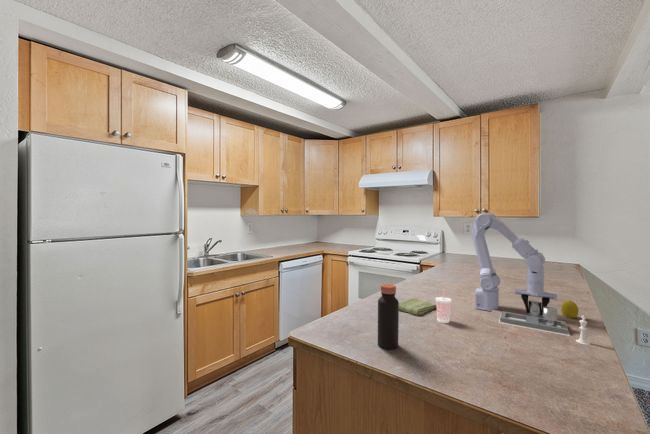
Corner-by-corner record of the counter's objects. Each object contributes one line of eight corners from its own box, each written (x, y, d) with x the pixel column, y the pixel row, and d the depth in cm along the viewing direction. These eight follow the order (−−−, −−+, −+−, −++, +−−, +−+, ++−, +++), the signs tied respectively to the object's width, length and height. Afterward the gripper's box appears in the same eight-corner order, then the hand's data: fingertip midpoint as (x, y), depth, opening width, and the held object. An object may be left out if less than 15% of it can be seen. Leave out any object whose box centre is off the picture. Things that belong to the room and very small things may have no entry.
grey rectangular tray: (498, 325, 118) (498, 318, 118) (500, 315, 129) (500, 309, 128) (570, 338, 105) (570, 331, 105) (566, 327, 116) (566, 320, 116)
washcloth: (438, 308, 139) (438, 301, 139) (418, 317, 127) (418, 310, 127) (413, 302, 148) (413, 295, 148) (392, 310, 136) (392, 303, 136)
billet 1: (528, 318, 125) (528, 302, 125) (528, 315, 129) (528, 299, 128) (541, 321, 122) (541, 304, 122) (540, 318, 126) (541, 301, 126)
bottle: (394, 351, 95) (394, 289, 95) (374, 346, 99) (374, 286, 98) (401, 343, 101) (401, 285, 100) (381, 339, 105) (382, 282, 104)
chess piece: (588, 342, 102) (588, 313, 102) (595, 349, 98) (596, 318, 97) (570, 340, 104) (571, 312, 104) (577, 346, 99) (577, 317, 99)
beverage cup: (453, 320, 122) (454, 286, 122) (447, 324, 118) (448, 289, 118) (438, 317, 127) (439, 284, 126) (432, 320, 122) (433, 286, 122)
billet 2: (542, 327, 113) (543, 309, 113) (542, 323, 117) (542, 305, 117) (557, 330, 111) (557, 311, 111) (556, 326, 114) (556, 308, 114)
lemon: (581, 322, 121) (581, 302, 121) (565, 321, 122) (566, 301, 122) (573, 317, 127) (573, 298, 127) (558, 316, 128) (558, 298, 128)
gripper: (514, 281, 126) (513, 313, 126) (558, 286, 118) (557, 320, 118) (515, 278, 132) (514, 308, 132) (556, 282, 124) (556, 315, 124)
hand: (534, 313), depth 125 cm, fingers closed on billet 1, 4 cm apart
